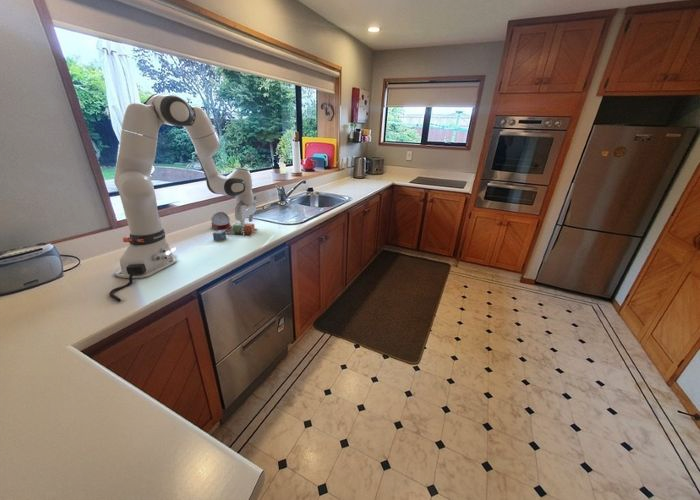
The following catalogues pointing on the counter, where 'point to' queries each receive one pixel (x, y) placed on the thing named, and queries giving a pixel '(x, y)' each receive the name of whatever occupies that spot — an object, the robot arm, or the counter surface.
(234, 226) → the letter A
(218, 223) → the canned food
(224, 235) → the letter T
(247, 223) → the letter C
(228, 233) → the word board
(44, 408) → the counter surface
